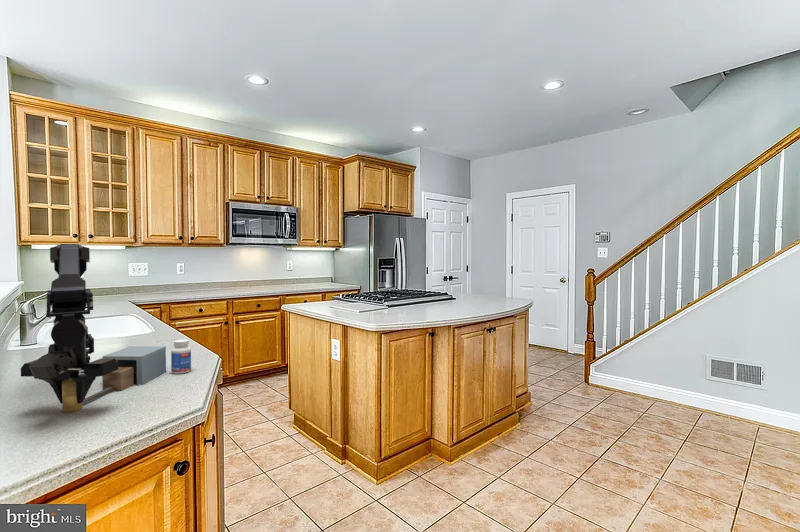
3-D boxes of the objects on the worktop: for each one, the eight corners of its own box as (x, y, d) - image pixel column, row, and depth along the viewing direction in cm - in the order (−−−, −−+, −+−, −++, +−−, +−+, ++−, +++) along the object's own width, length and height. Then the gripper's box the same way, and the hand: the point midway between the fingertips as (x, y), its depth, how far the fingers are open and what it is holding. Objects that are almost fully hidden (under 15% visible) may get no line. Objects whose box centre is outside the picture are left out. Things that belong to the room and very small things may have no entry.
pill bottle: (182, 374, 120) (181, 343, 119) (167, 373, 121) (166, 342, 120) (195, 369, 125) (194, 339, 124) (180, 368, 126) (180, 338, 126)
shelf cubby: (103, 384, 111) (102, 356, 110) (130, 371, 122) (130, 346, 122) (142, 384, 111) (141, 356, 110) (166, 371, 122) (165, 346, 122)
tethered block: (55, 412, 91) (54, 382, 91) (116, 384, 111) (115, 359, 110) (76, 412, 91) (75, 383, 91) (133, 384, 111) (133, 359, 110)
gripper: (-5, 346, 84) (-3, 417, 85) (83, 346, 85) (84, 417, 85) (41, 334, 95) (43, 398, 96) (119, 335, 96) (120, 398, 96)
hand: (71, 402), depth 93 cm, fingers closed on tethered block, 4 cm apart
